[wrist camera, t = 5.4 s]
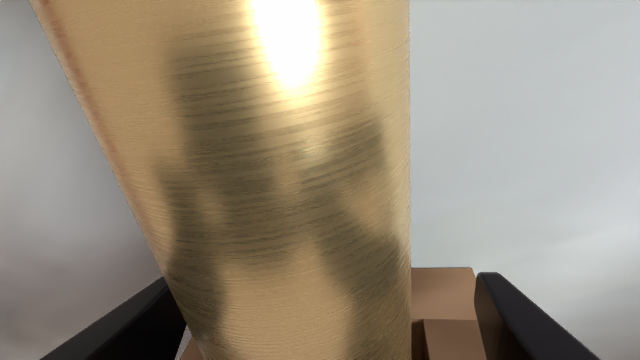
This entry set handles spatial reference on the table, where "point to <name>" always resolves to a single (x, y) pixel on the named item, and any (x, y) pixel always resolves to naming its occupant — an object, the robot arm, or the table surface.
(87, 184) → the table surface
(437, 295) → the socket cradle
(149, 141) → the tube
